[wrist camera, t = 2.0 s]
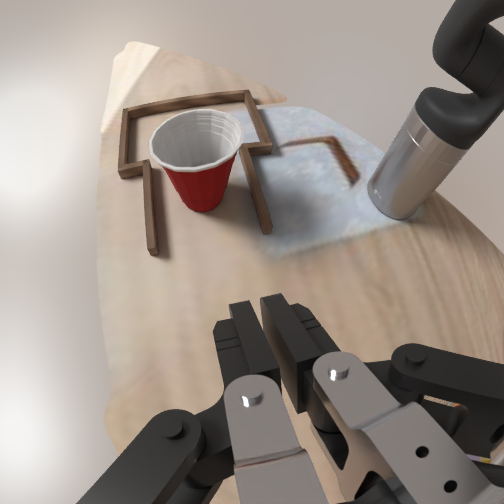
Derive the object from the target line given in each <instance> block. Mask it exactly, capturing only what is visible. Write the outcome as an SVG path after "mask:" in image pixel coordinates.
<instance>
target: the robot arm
mask: <svg viewBox="0 0 504 504" xmlns="http://www.w3.org/2000/svg"><path fill="white" fill-rule="evenodd" d="M502 16H504V0H456V1H455V2H454V4H453V5H452V7H451V9H450V10H449V12H448V14H447V15H446V17H445V18H444V20H443V22H442V24H441V25H440V27H439V29H438V31H437V34H436V36H435V39H434V43H433V57H434V60H435V61H436V63H437V64H438V65H439V66H440V67H441V68H442V69H443V70H445V71H446V72H447V73H448V74H450V75H451V76H452V77H454V78H455V79H457V80H458V81H459V82H461V83H462V84H464V85H465V86H466V87H468V88H469V89H470V90H472V91H473V93H470V94H460V93H454V92H450V91H447V90H444V89H440V88H435V87H429V88H426V89H424V90H423V91H422V92H421V93H420V95H419V97H418V99H417V101H416V102H415V104H414V106H413V108H412V110H411V112H410V113H409V115H408V117H407V119H406V121H405V122H404V124H403V125H402V127H401V129H400V131H399V132H398V134H397V136H396V138H395V139H394V141H393V143H392V144H391V146H390V147H389V149H388V151H387V152H386V154H385V156H384V157H383V159H382V161H381V162H380V164H379V165H378V167H377V169H376V170H375V172H374V173H373V175H372V177H371V178H370V180H369V182H368V193H369V196H370V198H371V200H372V202H373V203H374V205H375V206H376V207H377V208H378V209H379V210H380V211H381V212H382V213H384V214H385V215H387V216H389V217H391V218H394V219H401V220H402V219H406V218H408V217H410V216H411V215H412V214H413V213H414V212H415V211H416V210H417V209H418V208H419V207H420V206H421V205H422V204H423V202H424V201H425V200H426V199H427V198H428V197H429V196H430V195H431V194H432V193H433V192H434V190H435V189H436V188H437V187H438V186H439V185H440V184H441V183H442V181H443V180H444V179H445V178H446V176H447V175H448V174H449V173H450V172H451V171H452V170H453V168H454V167H455V166H456V165H457V163H458V162H459V161H460V160H461V159H462V157H463V156H464V155H465V154H466V153H467V151H468V150H469V149H470V148H471V146H472V145H473V144H474V143H475V142H476V141H477V140H478V139H479V138H480V137H481V136H482V135H483V134H484V133H485V132H486V130H487V129H488V128H489V127H490V126H491V124H492V123H493V122H494V121H495V120H496V118H497V117H498V116H499V115H500V114H501V112H502V111H503V110H504V35H503V34H502V33H500V32H499V31H498V30H496V29H495V28H494V27H492V26H491V25H490V24H488V23H490V22H491V21H493V20H495V19H497V18H499V17H502ZM260 305H261V314H262V323H263V329H262V327H261V325H260V323H259V321H258V318H257V316H256V314H255V312H254V309H253V307H252V305H251V303H250V301H249V300H248V301H243V302H238V303H234V304H229V311H230V316H231V319H226V320H221V321H217V323H216V325H215V327H214V330H213V335H214V340H215V345H216V350H217V354H218V359H219V364H220V368H221V373H222V378H223V382H224V392H223V395H222V396H221V398H220V399H219V401H218V402H217V403H216V404H215V405H213V406H212V407H210V408H209V409H207V410H205V411H203V412H200V413H198V414H196V415H193V414H192V413H190V412H188V411H185V410H180V409H173V410H167V411H164V412H161V413H159V414H157V415H156V416H154V417H153V418H152V419H151V420H150V421H149V422H148V424H147V425H146V426H145V427H144V428H143V429H142V431H141V432H140V433H139V434H138V435H137V436H136V437H135V439H134V440H133V441H132V442H131V443H130V444H129V446H128V447H127V448H126V449H125V450H124V451H123V452H122V454H121V455H120V456H119V457H118V458H117V459H116V460H115V462H114V463H113V464H112V465H111V466H110V467H109V468H108V469H107V471H106V472H105V473H104V474H103V475H102V476H101V477H100V478H99V479H98V480H97V482H96V483H95V484H94V485H93V486H92V487H91V488H90V489H89V490H88V491H87V492H86V494H85V495H84V496H83V497H82V498H81V499H80V500H79V501H78V502H77V503H76V504H209V503H210V501H211V500H212V498H213V497H214V495H215V493H216V492H217V490H218V489H219V487H220V485H221V484H222V482H223V480H224V479H226V478H228V477H230V476H232V475H234V474H235V479H236V484H237V489H238V494H239V499H240V503H241V504H329V503H328V501H327V498H326V496H325V493H324V491H323V488H322V486H321V483H320V481H319V478H318V476H317V473H316V471H315V468H314V466H313V463H312V461H311V458H310V456H309V454H308V452H307V451H306V450H305V449H302V448H301V446H300V444H299V441H298V439H297V436H296V433H295V431H294V428H293V425H292V423H291V420H290V417H289V414H288V412H287V409H286V406H285V404H284V401H283V398H282V388H281V379H282V381H283V384H284V386H285V388H286V390H287V392H288V395H289V397H290V399H291V401H292V403H293V405H294V408H295V410H296V412H297V414H299V413H303V412H306V411H307V413H308V415H309V417H310V419H311V424H310V427H311V431H312V433H313V435H314V436H315V438H316V440H317V442H318V444H319V445H320V447H321V449H322V451H323V452H324V454H325V456H326V458H327V459H328V461H329V463H330V465H331V466H332V468H333V470H334V472H335V474H336V476H337V479H338V484H339V488H340V491H341V493H342V495H343V497H344V499H345V501H346V502H344V503H338V504H504V364H499V363H495V362H490V361H486V360H481V359H477V358H473V357H468V356H464V355H460V354H456V353H452V352H448V351H444V350H440V349H436V348H432V347H428V346H424V345H421V344H414V343H411V344H405V345H402V346H400V347H398V348H397V349H396V350H395V351H394V352H393V354H392V357H391V360H386V361H378V362H368V363H366V362H362V361H361V360H360V359H359V358H358V357H357V356H355V355H353V354H351V353H347V352H341V351H340V349H339V348H338V347H337V345H336V344H335V343H334V341H333V340H332V339H331V337H330V336H329V335H328V333H327V332H326V331H325V329H324V328H323V327H321V324H320V323H319V322H318V320H317V319H316V318H315V316H314V315H313V314H312V312H311V311H310V310H309V309H308V308H306V307H304V306H302V305H300V304H299V303H297V304H293V305H289V304H288V303H287V301H286V300H285V298H284V297H283V295H282V294H281V293H279V294H275V295H271V296H266V297H262V298H260ZM263 331H264V332H263ZM425 395H427V396H431V397H434V398H438V399H442V400H446V401H449V402H453V403H457V404H461V405H459V406H456V407H452V406H447V405H444V404H440V403H436V402H433V401H429V400H425V399H423V398H424V396H425ZM466 454H469V455H473V456H478V457H483V458H489V459H491V460H490V462H489V463H484V462H479V461H474V460H470V458H469V457H468V456H467V455H466Z"/></svg>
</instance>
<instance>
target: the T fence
mask: <svg viewBox="0 0 504 504" xmlns="http://www.w3.org/2000/svg"><path fill="white" fill-rule="evenodd" d="M237 101H244V102H245V104H246V107H247V109H248V112H249V114H250V117H251V119H252V122H253V124H254V127H255V129H256V132H257V135H258V137H259V140H260V142H254V143H245V144H242V145H241V147H240V148H239V154H240V158H241V161H242V164H243V167H244V171H245V174H246V177H247V181H248V184H249V187H250V191H251V194H252V198H253V201H254V204H255V208H256V211H257V214H258V218H259V221H260V225H261V228H262V231H263V235H264V234H269V233H271V230H272V227H273V225H272V222H271V219H270V216H269V212H268V209H267V206H266V203H265V200H264V197H263V194H262V190H261V187H260V184H259V181H258V178H257V175H256V172H255V169H254V166H253V163H252V160H251V157H250V156H255V155H264V154H271V151H272V146H273V145H272V142H271V140H270V138H269V135H268V133H267V130H266V128H265V126H264V123H263V121H262V119H261V116H260V114H259V112H258V109H257V107H256V105H255V102H254V100H253V98H252V96H251V93H250V91H249V90H238V91H227V92H218V93H209V94H201V95H194V96H187V97H181V98H175V99H169V100H164V101H158V102H153V103H148V104H144V105H139V106H135V107H130V108H126V109H123V114H122V123H121V133H120V145H119V159H118V172H119V175H120V177H121V179H124V178H128V177H132V176H137V175H141V174H143V189H144V210H145V225H146V238H147V249H148V251H149V253H150V254H151V256H152V255H157V254H158V246H157V236H156V226H155V214H154V202H153V187H152V168H151V164H150V161H149V159H147V160H143V161H138V162H134V163H129V164H128V141H129V125H130V119H132V118H136V117H140V116H145V115H150V114H155V113H160V112H165V111H171V110H176V109H182V108H188V107H195V106H202V105H210V104H218V103H227V102H237Z"/></svg>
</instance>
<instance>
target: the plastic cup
mask: <svg viewBox="0 0 504 504" xmlns="http://www.w3.org/2000/svg"><path fill="white" fill-rule="evenodd" d="M243 135H244V130H243V128H242V126H241V124H240V122H239V120H237V119H236V118H234V117H233V116H231V115H230V114H228V113H225V112H222V111H218V110H214V109H195V110H191V111H187V112H183V113H179V114H177V115H175V116H173V117H171V118H169V119H167V120H165V121H164V122H163V123H162V124H161V125H160V126H159V127H158V128H157V129H156V130H155V131H154V132H153V134H152V137H151V139H150V141H149V149H150V155H151V156H152V157H153V158H154V159H155V160H156V161H157V162H158V163H159V164H160V166H162V167H163V168H164V169H165V171H166V172H167V174H168V176H169V178H170V180H171V182H172V184H173V185H174V187H175V189H176V191H177V192H178V193H179V195H180V197H181V199H182V201H183V202H184V203H185V204H186V206H187V207H188V208H190V209H192V210H194V211H197V212H206V211H210V210H212V209H214V208H215V207H217V206H218V205H219V203H220V202H221V200H222V198H223V195H224V192H225V189H226V187H227V183H228V179H229V176H230V172H231V168H232V164H233V162H234V159H235V156H236V154H237V151H238V150H239V148H240V147H241V145H242V142H243Z"/></svg>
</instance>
